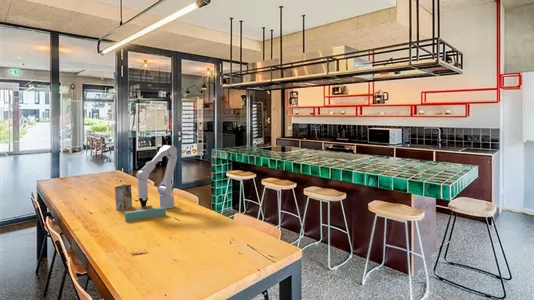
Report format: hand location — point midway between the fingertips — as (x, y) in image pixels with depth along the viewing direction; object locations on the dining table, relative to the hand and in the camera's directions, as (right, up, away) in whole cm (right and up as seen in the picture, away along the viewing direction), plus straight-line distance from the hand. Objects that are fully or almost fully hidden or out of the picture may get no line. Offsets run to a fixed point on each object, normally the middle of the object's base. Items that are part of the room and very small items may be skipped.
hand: (143, 208), depth 206 cm
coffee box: (-18, -2, +10) cm, 21 cm away
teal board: (+5, -4, -10) cm, 12 cm away
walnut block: (+2, -4, -4) cm, 6 cm away
